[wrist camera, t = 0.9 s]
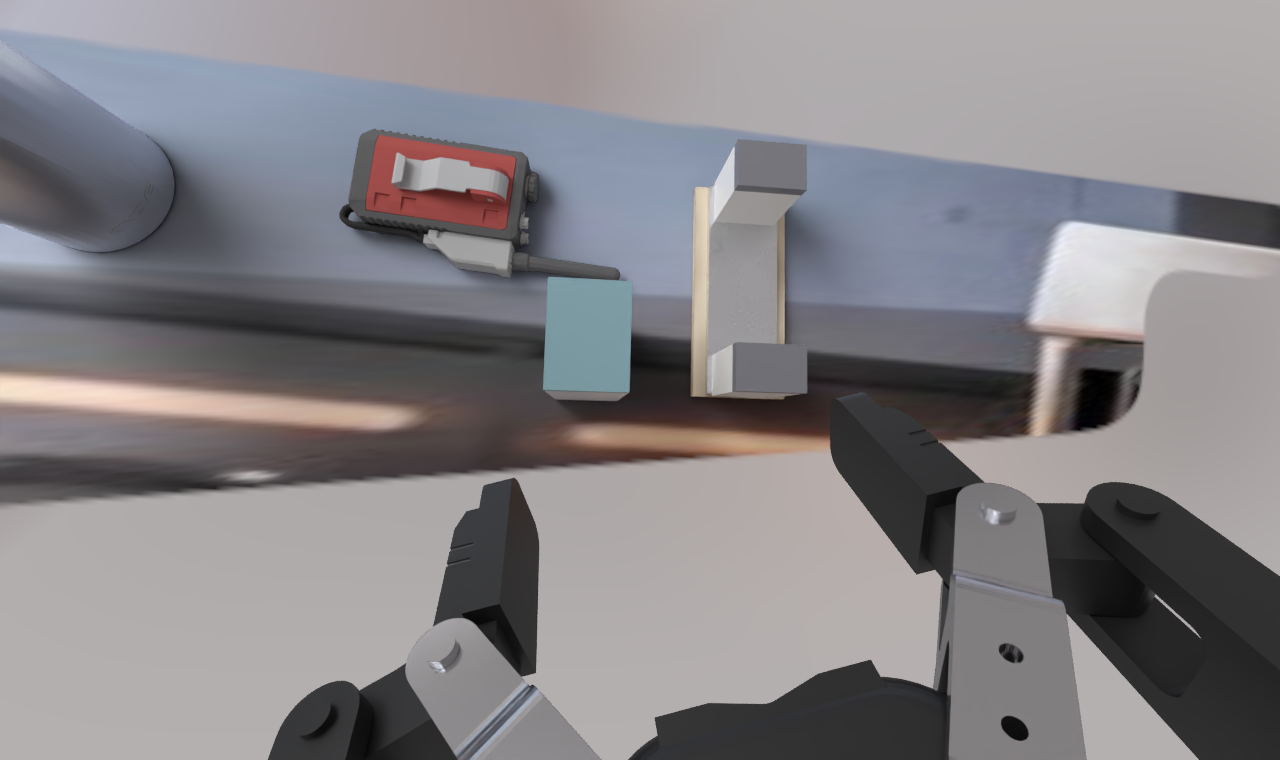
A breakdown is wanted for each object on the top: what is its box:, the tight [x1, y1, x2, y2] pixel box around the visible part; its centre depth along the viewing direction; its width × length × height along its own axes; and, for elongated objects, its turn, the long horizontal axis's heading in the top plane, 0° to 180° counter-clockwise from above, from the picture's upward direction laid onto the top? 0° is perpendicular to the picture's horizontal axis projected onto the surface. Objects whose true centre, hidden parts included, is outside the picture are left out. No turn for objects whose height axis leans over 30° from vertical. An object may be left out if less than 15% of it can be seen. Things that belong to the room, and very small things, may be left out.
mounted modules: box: [712, 139, 807, 398], centre depth 35 cm, size 4×16×6 cm, turn 179°
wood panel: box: [691, 187, 785, 400], centre depth 39 cm, size 7×16×1 cm, turn 179°
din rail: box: [705, 185, 777, 394], centre depth 38 cm, size 5×16×1 cm, turn 179°
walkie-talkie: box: [339, 129, 620, 280], centre depth 36 cm, size 9×4×20 cm
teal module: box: [543, 277, 632, 401], centre depth 33 cm, size 4×6×11 cm
